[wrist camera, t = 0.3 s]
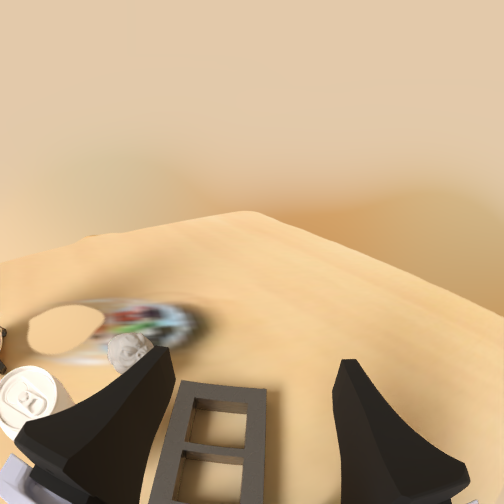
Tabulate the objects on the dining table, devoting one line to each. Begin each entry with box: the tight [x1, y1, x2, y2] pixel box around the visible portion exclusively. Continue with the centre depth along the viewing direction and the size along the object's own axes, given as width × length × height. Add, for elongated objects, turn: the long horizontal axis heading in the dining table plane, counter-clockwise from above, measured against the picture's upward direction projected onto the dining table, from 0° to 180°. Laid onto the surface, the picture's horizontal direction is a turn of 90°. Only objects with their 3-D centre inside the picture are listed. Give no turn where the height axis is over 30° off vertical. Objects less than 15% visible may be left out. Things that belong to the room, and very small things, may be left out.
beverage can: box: [0, 366, 76, 441], centre depth 17 cm, size 8×8×12 cm
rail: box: [148, 380, 266, 504], centre depth 20 cm, size 24×10×2 cm, turn 177°
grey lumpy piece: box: [107, 333, 153, 374], centre depth 31 cm, size 6×7×7 cm
